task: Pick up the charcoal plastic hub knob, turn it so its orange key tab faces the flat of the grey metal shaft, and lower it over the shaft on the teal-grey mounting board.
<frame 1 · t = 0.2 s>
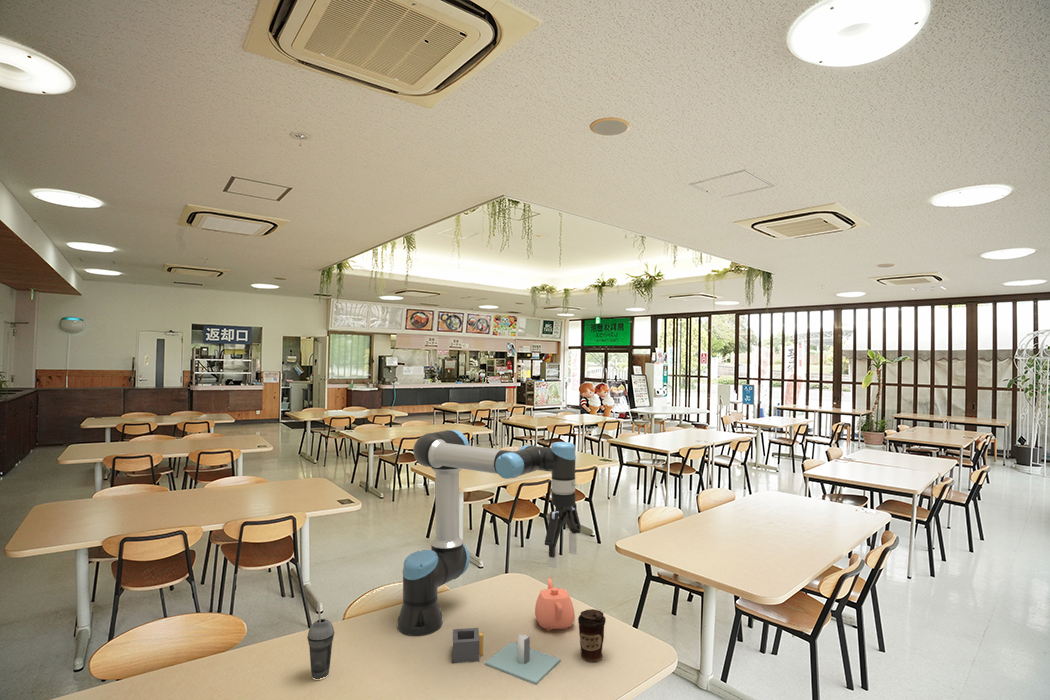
hand: (563, 560, 163), 28 cm above the table, fingers open, 13 cm apart
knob: (465, 654, 159), on the table
beverage cup: (320, 676, 149), on the table
board: (522, 662, 155), on the table
coffee cup: (591, 657, 158), on the table
teapot: (554, 623, 179), on the table
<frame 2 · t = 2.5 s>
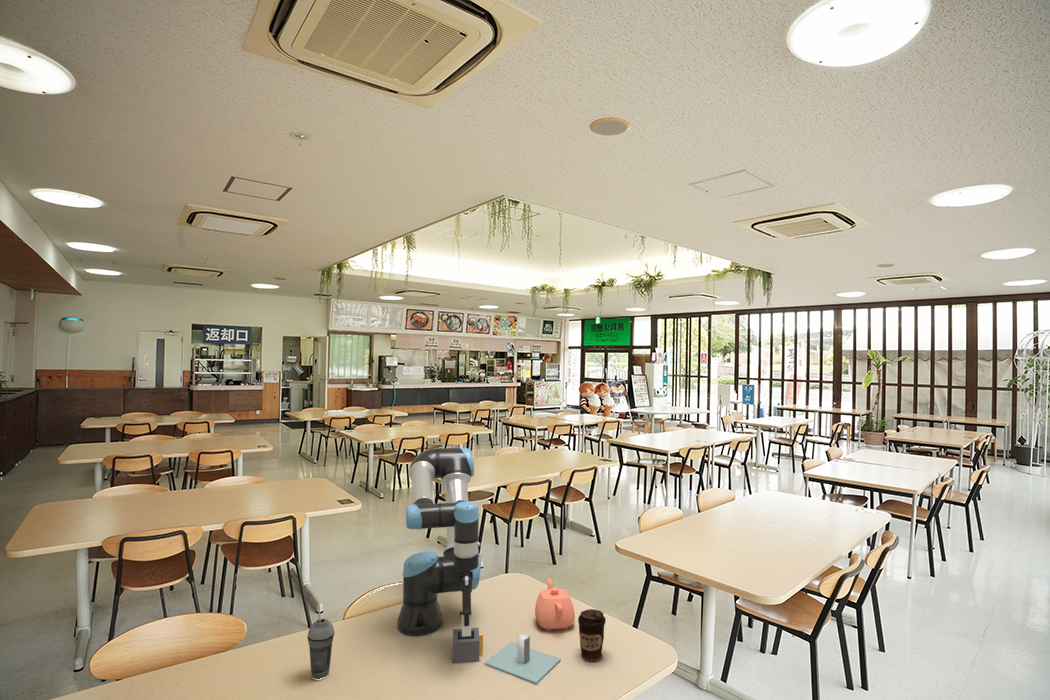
hand: (466, 624, 159), 9 cm above the table, fingers open, 13 cm apart
nothing on the table moved.
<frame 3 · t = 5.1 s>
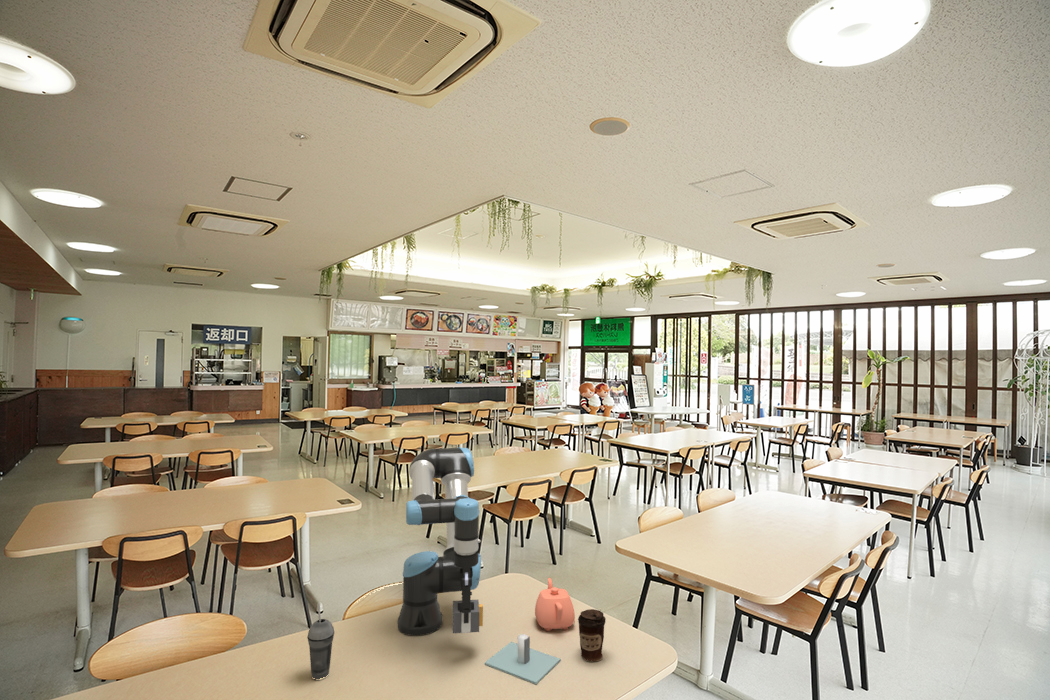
hand: (465, 624, 160), 9 cm above the table, fingers closed on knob, 8 cm apart
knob: (465, 625, 160), point 8 cm above the table, touching gripper
everything else where it was.
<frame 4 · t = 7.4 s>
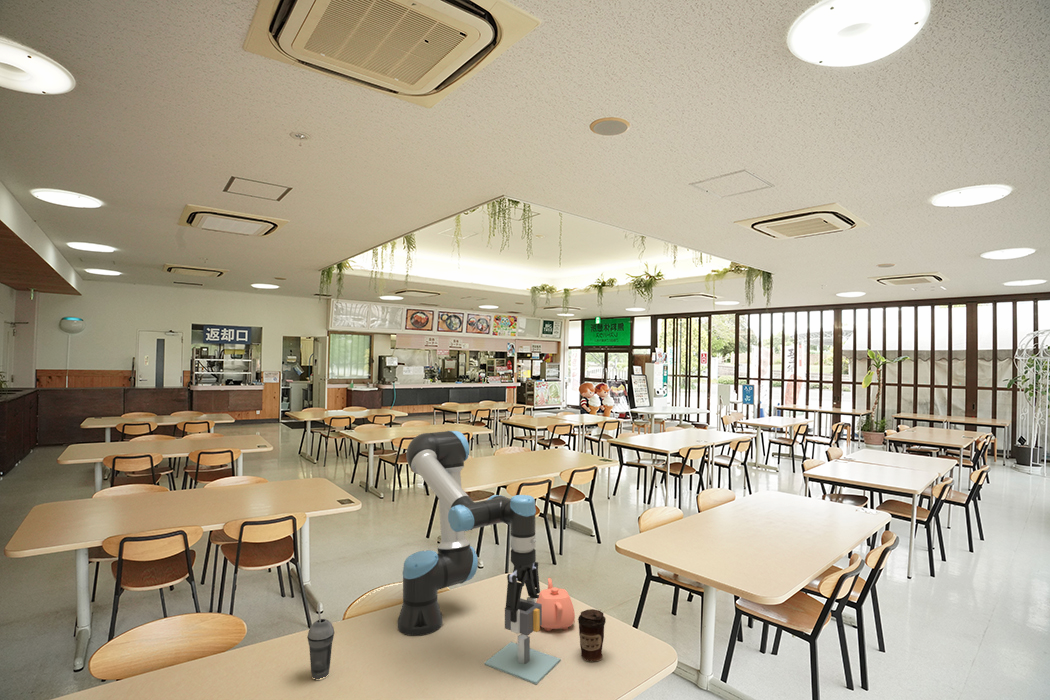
hand: (523, 625, 155), 11 cm above the table, fingers closed on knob, 8 cm apart
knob: (523, 626, 155), point 11 cm above the table, touching gripper
everything else where it was.
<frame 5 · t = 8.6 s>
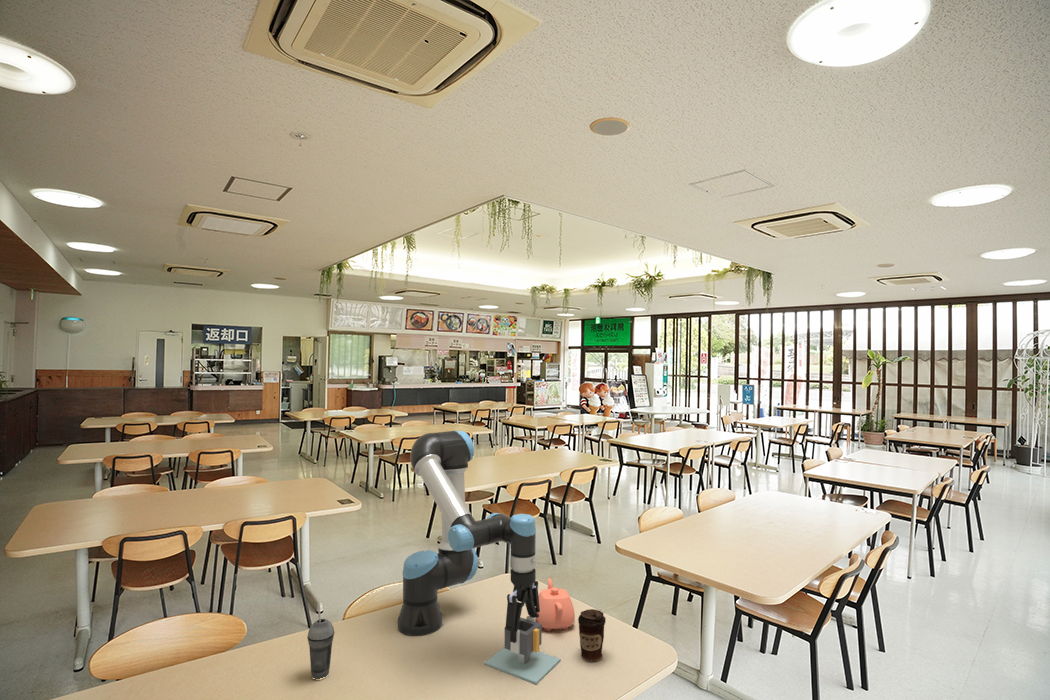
hand: (523, 645, 155), 5 cm above the table, fingers closed on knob, 8 cm apart
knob: (523, 646, 155), point 5 cm above the table, touching gripper
everything else where it was.
when the fingers open (2 cm above the table, at t = 9.7 s): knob stays where it is, resting on board.
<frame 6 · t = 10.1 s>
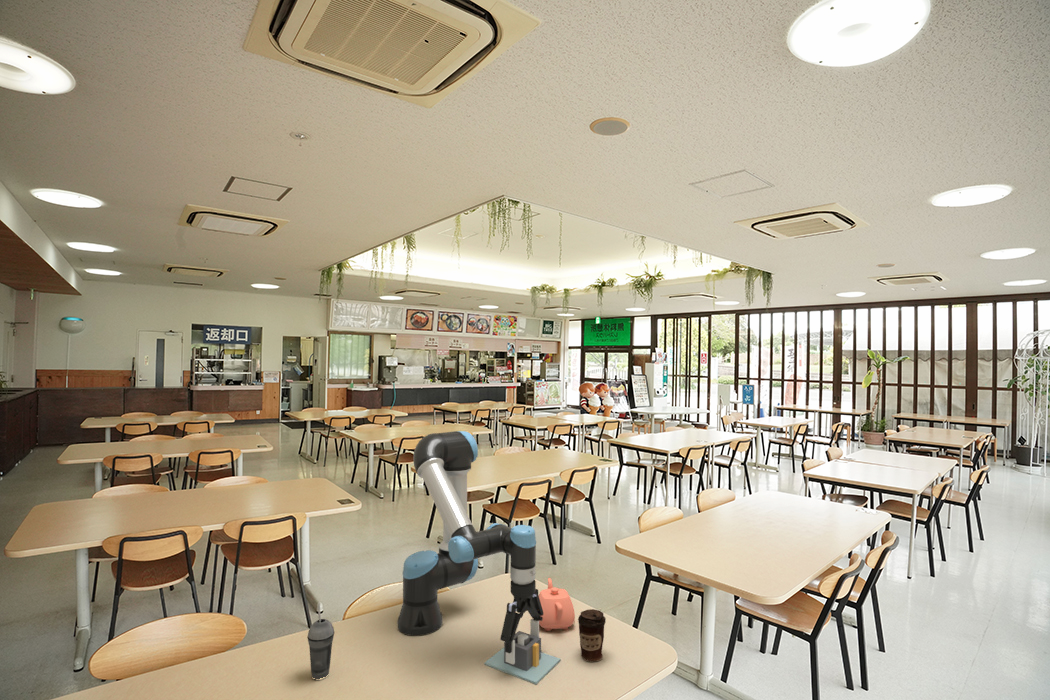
hand: (522, 652, 155), 3 cm above the table, fingers open, 13 cm apart
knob: (522, 660, 155), point 1 cm above the table, touching board
everything else where it was.
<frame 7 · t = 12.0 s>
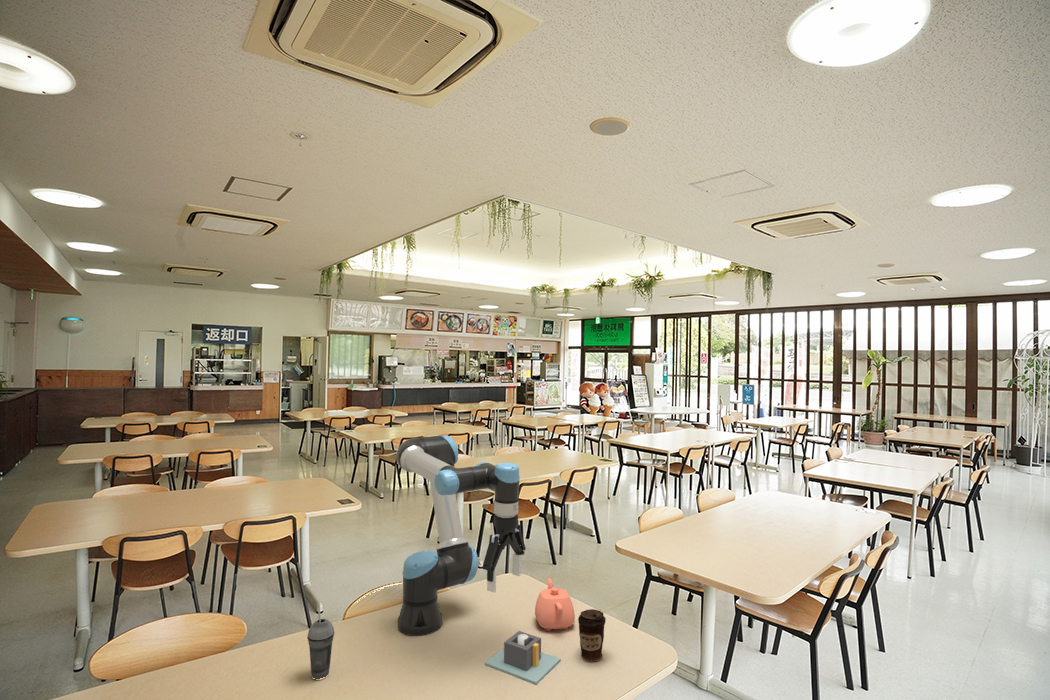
hand: (504, 582, 161), 21 cm above the table, fingers open, 13 cm apart
nothing on the table moved.
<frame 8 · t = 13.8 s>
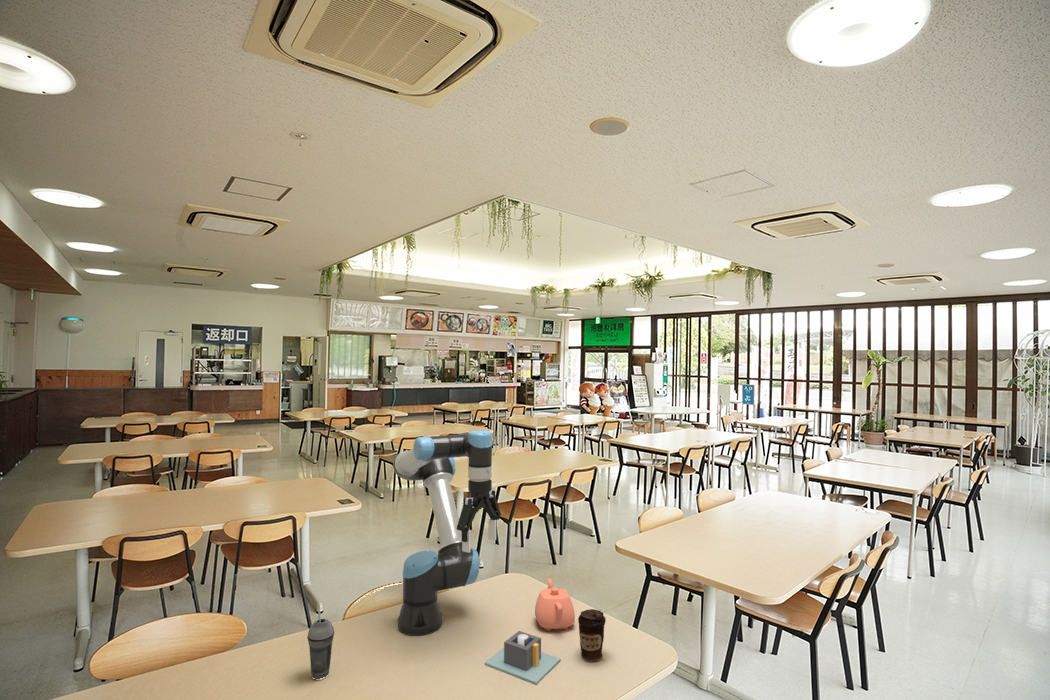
hand: (479, 545, 168), 31 cm above the table, fingers open, 13 cm apart
nothing on the table moved.
at the end: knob 0.1 cm off-centre on the board, point 0.6 cm above the board's base; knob tilted 0° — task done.
